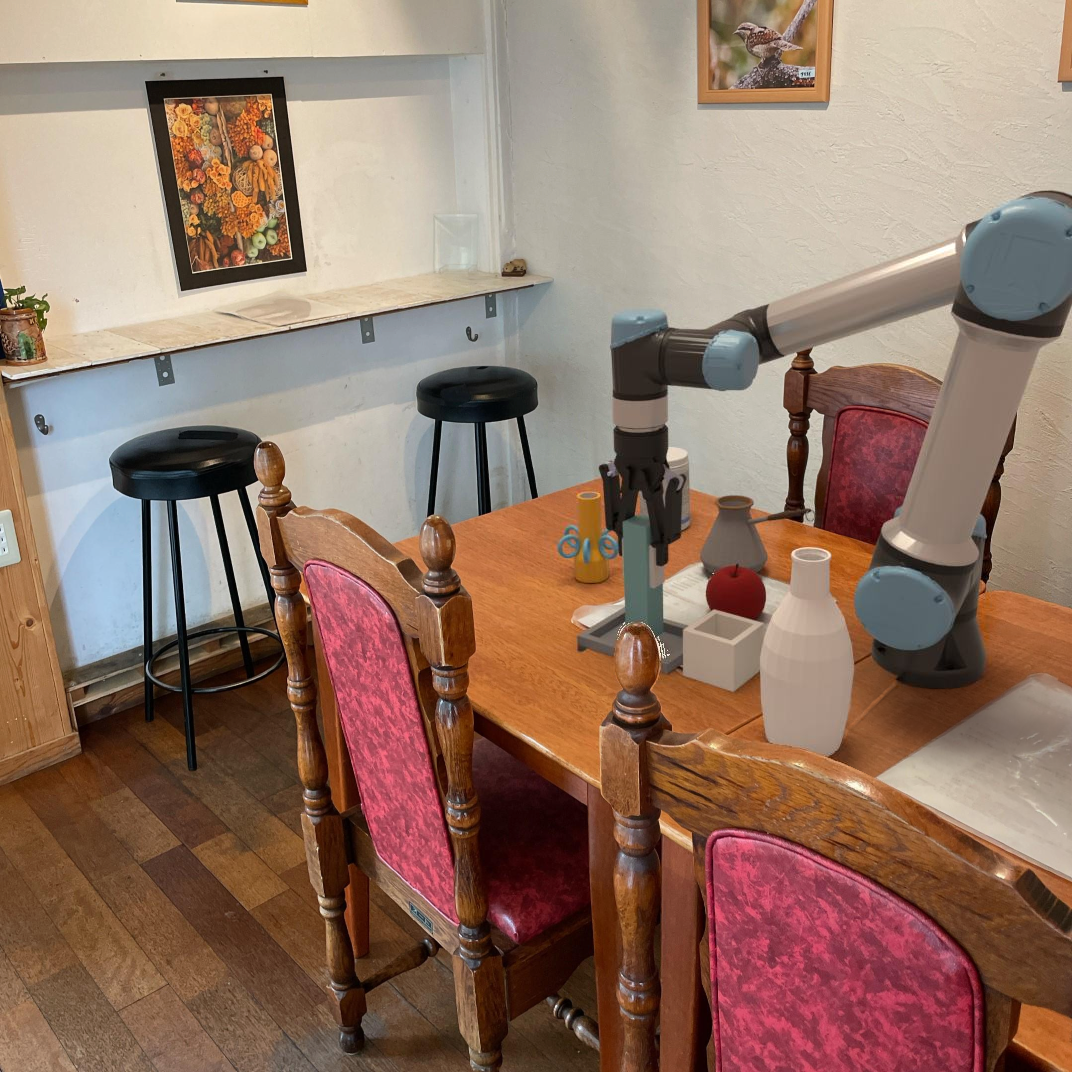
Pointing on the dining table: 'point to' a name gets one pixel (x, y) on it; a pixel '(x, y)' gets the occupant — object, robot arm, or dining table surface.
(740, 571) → the apple
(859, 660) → the dining table surface
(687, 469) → the supplement tub
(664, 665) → the tray
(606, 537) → the yellow ringed vase
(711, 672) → the white open box
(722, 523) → the coffee pot
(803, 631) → the bottle
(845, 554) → the dining table surface
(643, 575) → the peg
